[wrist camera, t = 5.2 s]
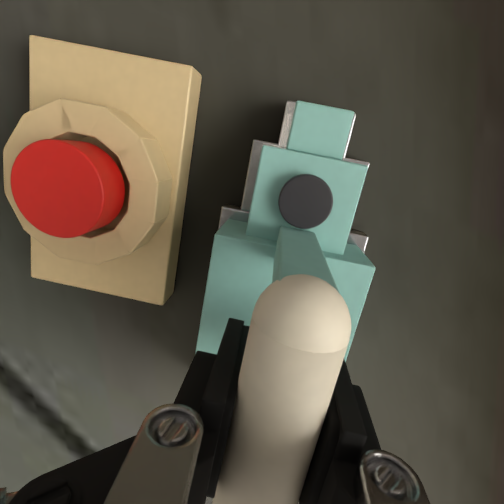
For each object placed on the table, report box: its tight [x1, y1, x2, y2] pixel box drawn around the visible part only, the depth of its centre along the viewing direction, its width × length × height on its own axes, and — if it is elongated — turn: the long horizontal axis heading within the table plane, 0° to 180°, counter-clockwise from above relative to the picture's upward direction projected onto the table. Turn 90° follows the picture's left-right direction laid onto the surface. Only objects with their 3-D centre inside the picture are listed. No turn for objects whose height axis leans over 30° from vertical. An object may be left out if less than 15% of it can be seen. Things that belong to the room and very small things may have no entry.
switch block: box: [3, 35, 202, 305], centre depth 15 cm, size 11×7×4 cm, turn 169°
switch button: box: [10, 139, 125, 238], centre depth 13 cm, size 4×4×2 cm
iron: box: [195, 100, 375, 504], centre depth 12 cm, size 15×7×11 cm, turn 169°
